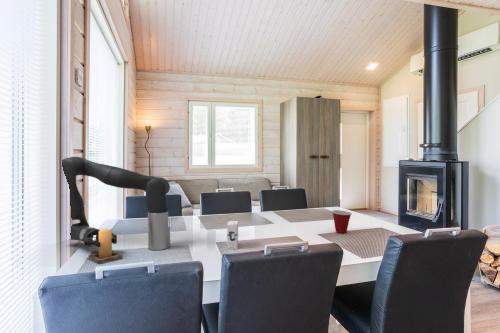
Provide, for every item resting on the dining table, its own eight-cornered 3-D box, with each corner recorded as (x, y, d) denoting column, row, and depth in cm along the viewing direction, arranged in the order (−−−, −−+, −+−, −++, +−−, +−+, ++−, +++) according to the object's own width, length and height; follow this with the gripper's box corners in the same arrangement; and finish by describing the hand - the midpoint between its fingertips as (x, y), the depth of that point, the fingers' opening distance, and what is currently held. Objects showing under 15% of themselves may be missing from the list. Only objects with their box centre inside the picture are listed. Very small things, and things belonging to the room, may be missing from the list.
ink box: (228, 244, 158) (228, 220, 158) (238, 244, 158) (238, 220, 158) (226, 249, 150) (226, 224, 149) (237, 249, 150) (237, 224, 149)
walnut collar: (111, 253, 143) (111, 250, 143) (122, 258, 137) (122, 254, 137) (88, 258, 136) (88, 255, 136) (98, 264, 129) (98, 260, 129)
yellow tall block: (108, 256, 140) (108, 228, 139) (113, 258, 136) (113, 230, 136) (96, 258, 136) (96, 230, 136) (102, 261, 133) (101, 232, 132)
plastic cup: (351, 235, 175) (351, 213, 174) (331, 234, 178) (331, 212, 178) (351, 231, 185) (352, 210, 185) (332, 229, 188) (332, 209, 188)
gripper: (74, 230, 140) (89, 237, 129) (107, 225, 151) (124, 231, 140) (74, 247, 140) (90, 255, 129) (107, 241, 151) (124, 248, 140)
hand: (107, 243), depth 134 cm, fingers open, 6 cm apart
